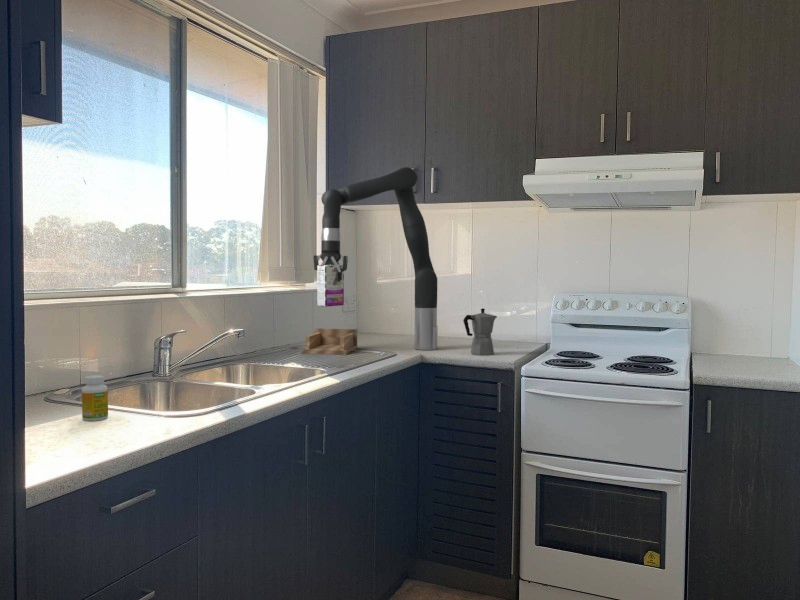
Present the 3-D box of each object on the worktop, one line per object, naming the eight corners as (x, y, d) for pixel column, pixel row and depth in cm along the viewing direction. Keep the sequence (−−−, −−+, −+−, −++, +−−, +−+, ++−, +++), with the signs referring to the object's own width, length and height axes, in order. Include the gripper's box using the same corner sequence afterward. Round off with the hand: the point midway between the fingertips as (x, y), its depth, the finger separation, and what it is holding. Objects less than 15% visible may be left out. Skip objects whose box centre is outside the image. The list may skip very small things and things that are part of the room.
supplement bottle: (95, 422, 150) (94, 379, 149) (76, 420, 152) (75, 377, 151) (113, 417, 155) (112, 375, 154) (95, 415, 157) (94, 373, 156)
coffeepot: (489, 351, 271) (489, 307, 270) (503, 354, 263) (503, 308, 262) (456, 353, 264) (457, 308, 263) (470, 356, 256) (470, 309, 255)
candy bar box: (334, 304, 276) (335, 264, 275) (344, 305, 273) (344, 265, 272) (316, 306, 267) (316, 264, 266) (325, 306, 264) (326, 265, 263)
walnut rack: (357, 348, 278) (357, 329, 278) (346, 354, 260) (346, 334, 259) (315, 347, 281) (315, 328, 281) (301, 353, 263) (301, 333, 262)
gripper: (350, 240, 271) (350, 281, 272) (316, 239, 273) (315, 280, 274) (345, 239, 263) (345, 282, 264) (310, 239, 266) (310, 281, 267)
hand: (330, 281), depth 269 cm, fingers closed on candy bar box, 6 cm apart
